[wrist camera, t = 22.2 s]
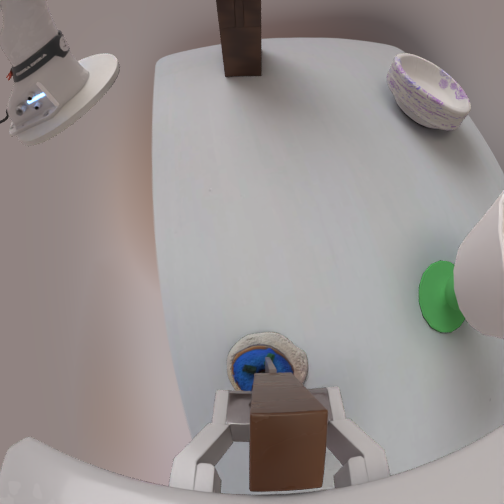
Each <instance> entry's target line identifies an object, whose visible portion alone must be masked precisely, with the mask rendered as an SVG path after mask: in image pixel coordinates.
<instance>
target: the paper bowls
mask: <svg viewBox="0 0 504 504" xmlns="http://www.w3.org/2000/svg"><path fill="white" fill-rule="evenodd" d="M387 83H388V86H389V88H390V90H391V91H392V93H393V94H394V97H395V100H396V102H397V104H398V105H399V107H400V108H401V109H402V111H403V112H404V113H405V114H406V115H408V116H409V117H410V118H411V119H413V120H414V121H416V122H417V123H419V124H421V125H423V126H425V127H428V128H433V129H438V128H439V129H442V130H448V131H451V130H455V129H457V128H458V127H459V125H460V124H461V123H462V121H463V120H464V119H465V117H466V116H467V115H468V113H469V112H470V110H471V105H470V101H469V99H468V97H467V95H466V93H465V92H464V90H463V89H462V88H461V87H460V85H459V84H458V83H457V82H456V81H455V80H454V79H453V78H452V77H451V76H449V74H447V73H446V72H445V71H444V70H442V69H441V68H439V67H438V66H436V65H435V64H433V63H431V62H430V61H428V60H426V59H424V58H421V57H419V56H416V55H412V54H407V53H401V54H398V55H396V56H395V57H394V59H393V62H392V64H391V66H390V69H389V72H388V74H387Z"/></svg>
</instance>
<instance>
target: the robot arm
mask: <svg viewBox="0 0 504 504" xmlns="http://www.w3.org/2000/svg"><path fill="white" fill-rule="evenodd" d="M1 10H2V12H3V27H2V30H1V32H0V47H1V49H2V50H3V52H4V53H5V55H6V56H7V58H8V60H9V61H10V63H11V64H12V68H11V71H10V73H9V74H8V76H9V79H8V80H10V78H11V77H12V75H13V79H14V82H15V83H14V86H13V89H12V92H11V95H10V99H9V102H8V106H7V110H6V113H7V116H6V118H5V119H3V120H1V121H0V123H2V122H4V121H5V120H7V119H8V117H10V119H11V120H12V123H11V126H10V131H9V133H10V135H11V137H13V136H15V135H17V134H19V133H21V132H23V131H25V130H27V129H29V128H31V127H34V126H36V125H38V124H40V123H43V122H45V121H47V120H50V119H52V118H53V117H54V116H55V115H56V114H57V113H58V112H59V110H60V109H61V108H62V107H63V106H64V105H65V104H66V103H67V102H68V101H69V100H70V99H72V98H73V97H74V96H75V95H76V94H77V93H78V92H79V91H80V90H81V88H82V87H83V86H84V85H85V83H86V82H87V80H88V78H89V72H88V71H87V70H86V69H85V68H84V67H83V66H82V65H81V64H80V63H79V62H78V61H77V60H76V59H75V57H74V56H73V55H72V53H71V52H70V50H69V49H70V48H69V46H68V43H67V41H66V39H65V37H64V36H63V34H62V32H61V31H60V30H58V29H57V27H56V25H55V23H54V20H53V18H52V16H51V13H50V11H49V8H48V4H47V0H0V11H1ZM8 76H7V77H8ZM7 77H6V78H7ZM308 390H309V391H310V392H311V394H312V395H313V396H314V397H315V398H316V399H317V400H318V401H319V402H320V403H321V404H322V405H323V406H324V407H325V408H326V409H327V410H328V427H327V442H326V446H327V447H328V449H329V450H330V451H331V452H332V453H333V455H334V456H335V457H336V458H337V459H338V460H339V461H340V463H341V464H342V465H343V467H342V468H341V469H340V470H339V471H338V472H337V473H336V474H335V475H334V485H335V488H334V489H328V490H321V491H313V492H303V493H291V494H270V495H246V494H225V493H221V479H220V477H219V475H218V473H217V471H216V469H215V467H214V466H215V465H216V464H217V463H218V461H219V460H220V459H221V458H222V456H223V455H224V454H225V452H226V451H227V450H228V449H229V447H230V446H231V445H232V443H233V442H250V407H251V398H252V391H232V390H217V391H216V393H215V401H214V409H213V417H212V423H208V424H207V425H206V426H205V427H204V428H203V429H202V430H201V431H200V432H199V433H198V434H197V435H196V436H195V437H194V439H193V440H192V441H191V442H190V443H189V444H188V445H187V446H186V447H185V448H184V449H183V450H182V451H181V452H180V453H179V454H177V455H176V456H175V457H174V459H173V464H172V470H171V475H170V481H169V486H165V485H160V484H155V483H151V482H147V481H143V480H139V479H135V478H131V477H127V476H124V475H121V474H117V473H114V472H111V471H108V470H105V469H102V468H99V467H97V466H94V465H91V464H89V463H86V462H84V461H81V460H79V459H76V458H74V457H72V456H70V455H67V454H65V453H63V452H60V451H59V450H56V449H54V448H52V447H50V446H48V445H46V444H44V443H42V442H40V441H39V440H37V439H35V438H32V437H27V438H25V439H23V440H21V441H19V442H17V443H16V444H14V445H12V446H11V447H10V448H9V449H8V451H7V453H6V456H5V458H4V461H3V464H2V468H1V471H0V504H504V424H503V425H501V426H500V427H498V428H497V429H495V430H493V431H492V432H490V433H488V434H487V435H485V436H483V437H482V438H480V439H478V440H476V441H474V442H472V443H470V444H469V445H467V446H465V447H463V448H461V449H459V450H457V451H454V452H452V453H450V454H448V455H446V456H443V457H441V458H439V459H436V460H434V461H432V462H429V463H426V464H424V465H421V466H419V467H416V468H413V469H410V470H407V471H404V472H401V473H398V474H395V475H390V470H389V466H388V462H387V458H386V454H385V450H384V449H383V448H382V447H381V446H380V445H379V444H377V443H376V442H375V441H374V440H373V439H372V438H371V437H370V436H368V435H367V434H366V433H365V432H364V431H363V430H362V429H361V428H360V427H358V426H357V425H356V424H355V423H354V422H353V421H352V420H351V419H350V418H349V419H346V415H345V410H344V406H343V402H342V397H341V393H340V389H339V387H337V386H336V387H324V388H314V389H308Z"/></svg>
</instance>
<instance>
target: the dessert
mask: <svg viewBox="0 0 504 504" xmlns="http://www.w3.org/2000/svg"><path fill="white" fill-rule="evenodd" d="M265 357H270V359H271V360H272V362H273V364H274V366H275V367H276V369H277V373H288V372H291V373H292V374H293V375H294V376H295V377H296V378H297V379H298V380H299V381H300V382H301V383H303V382H304V380H305V378H306V375H307V369H308V361H307V356H306V353H305V352H304V351H303V350H301V349H299V348H298V347H296V346H295V345H294V344H293V343H292V342H291V341H290V340H289V339H288V338H286V337H285V336H283V335H281V334H279V333H275V332H263V333H256V334H249V335H247V336H245V337H243V338H242V339H240V340H239V341H238V342H237V343H236V344H235V345H234V346H233V347H232V349H231V350H230V352H229V354H228V358H227V372H228V377H229V379H230V382H231V384H232V385H233V387H234V389H235V390H236V391H252V389H253V380H254V374H255V373H265Z"/></svg>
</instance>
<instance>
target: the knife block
mask: <svg viewBox="0 0 504 504" xmlns="http://www.w3.org/2000/svg"><path fill="white" fill-rule="evenodd" d="M216 3H217V12H218V21H219V28H220V37H221V46H222V54H223V62H224V71H225V77H232V76H261V0H216Z"/></svg>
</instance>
